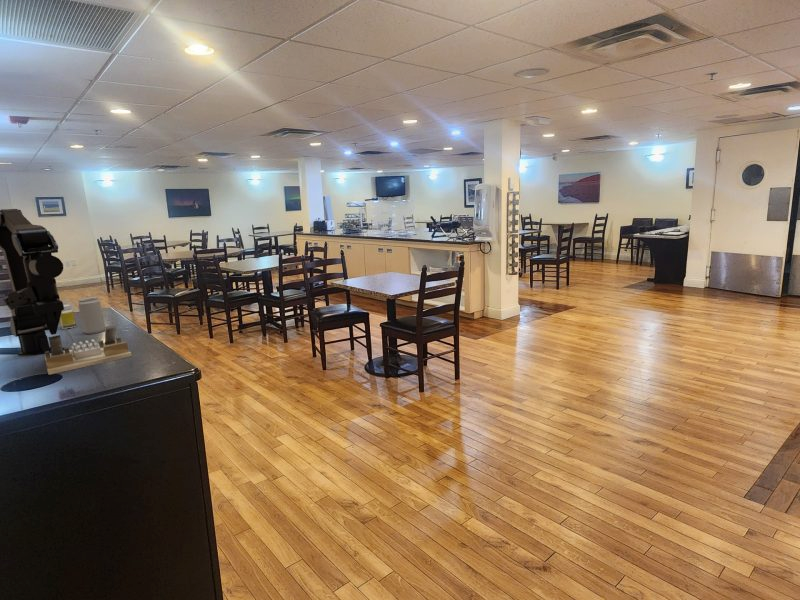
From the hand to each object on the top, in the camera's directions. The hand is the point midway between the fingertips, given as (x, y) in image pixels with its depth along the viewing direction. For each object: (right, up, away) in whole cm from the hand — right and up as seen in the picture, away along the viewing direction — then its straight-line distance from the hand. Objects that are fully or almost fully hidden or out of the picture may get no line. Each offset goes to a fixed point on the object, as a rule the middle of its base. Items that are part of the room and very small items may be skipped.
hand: (53, 334), depth 127 cm
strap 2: (+8, -2, +11) cm, 14 cm away
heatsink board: (+4, -7, +8) cm, 11 cm away
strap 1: (-2, -4, +4) cm, 5 cm away
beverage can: (-14, -2, +39) cm, 41 cm away
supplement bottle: (-30, -1, +49) cm, 57 cm away
